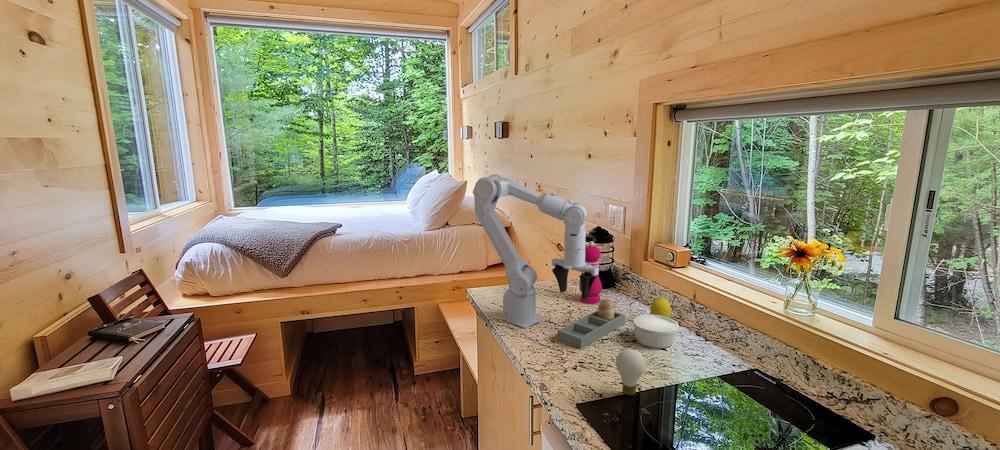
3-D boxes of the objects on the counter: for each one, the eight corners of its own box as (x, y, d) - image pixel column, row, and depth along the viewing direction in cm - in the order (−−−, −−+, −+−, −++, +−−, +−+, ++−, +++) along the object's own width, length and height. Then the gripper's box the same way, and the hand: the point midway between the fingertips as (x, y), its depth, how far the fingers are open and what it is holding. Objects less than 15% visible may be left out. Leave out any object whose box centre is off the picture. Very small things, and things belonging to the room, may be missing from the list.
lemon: (671, 328, 126) (673, 301, 124) (650, 327, 127) (652, 300, 125) (668, 320, 131) (670, 294, 129) (648, 319, 132) (649, 293, 131)
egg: (595, 322, 129) (596, 300, 128) (602, 317, 132) (602, 295, 131) (610, 325, 126) (610, 303, 125) (616, 320, 130) (617, 298, 128)
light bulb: (610, 387, 97) (612, 344, 95) (637, 386, 98) (639, 343, 96) (620, 403, 91) (621, 358, 89) (648, 401, 92) (650, 356, 90)
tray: (557, 340, 120) (557, 330, 119) (602, 316, 135) (602, 307, 134) (580, 349, 115) (581, 339, 114) (624, 323, 129) (625, 314, 129)
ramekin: (684, 340, 119) (685, 321, 118) (666, 355, 111) (667, 335, 110) (644, 328, 126) (644, 310, 125) (624, 342, 118) (625, 323, 117)
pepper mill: (604, 299, 149) (606, 240, 145) (597, 306, 143) (598, 244, 139) (584, 295, 153) (585, 237, 149) (575, 302, 147) (576, 242, 143)
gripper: (545, 246, 126) (545, 292, 129) (588, 255, 116) (587, 305, 119) (560, 241, 131) (560, 286, 134) (603, 250, 121) (602, 298, 124)
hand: (574, 294), depth 127 cm, fingers open, 7 cm apart
